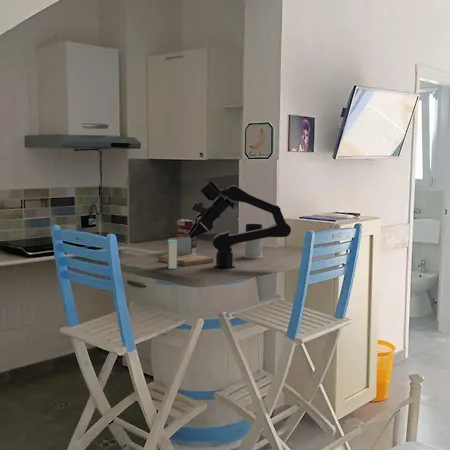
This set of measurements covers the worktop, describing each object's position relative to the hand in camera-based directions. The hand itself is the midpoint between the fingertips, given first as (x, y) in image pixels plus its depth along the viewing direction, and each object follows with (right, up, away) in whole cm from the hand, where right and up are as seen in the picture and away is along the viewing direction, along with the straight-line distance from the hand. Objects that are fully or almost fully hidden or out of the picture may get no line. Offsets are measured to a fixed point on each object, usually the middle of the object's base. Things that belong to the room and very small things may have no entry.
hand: (189, 236), depth 243 cm
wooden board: (-3, -11, +16) cm, 20 cm away
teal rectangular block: (-7, -13, 0) cm, 15 cm away
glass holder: (+27, -10, +34) cm, 45 cm away
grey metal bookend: (-7, -9, +20) cm, 23 cm away
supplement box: (-4, -9, +38) cm, 40 cm away
